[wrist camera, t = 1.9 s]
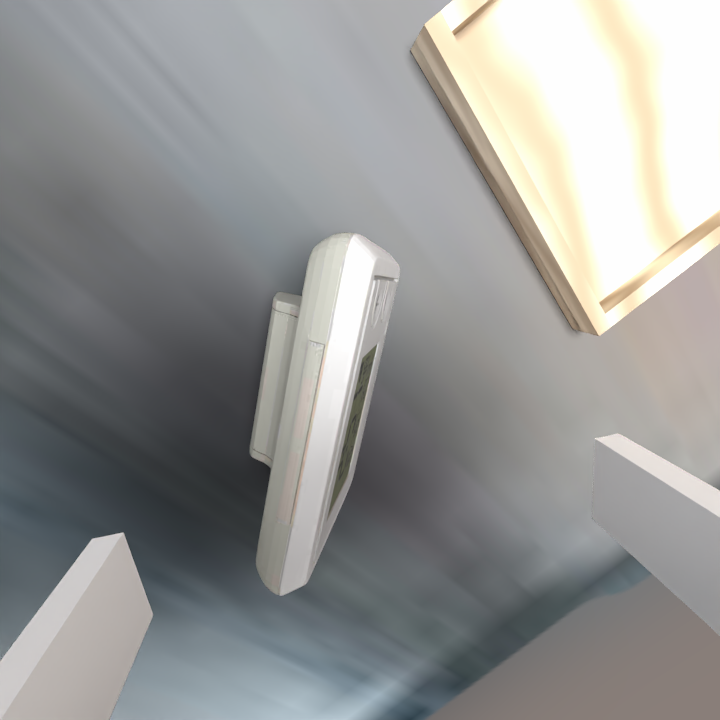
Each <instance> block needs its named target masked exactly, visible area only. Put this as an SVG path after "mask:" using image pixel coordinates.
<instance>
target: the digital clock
mask: <svg viewBox="0 0 720 720" xmlns="http://www.w3.org/2000/svg"><path fill="white" fill-rule="evenodd" d="M399 275H400V266H399V265H398V263H397V262H396V261H395V260H394V258H393V257H392V256H391V255H390V254H389V253H388V252H387V251H385V250H384V249H382V248H381V247H379V246H378V245H376V244H374V243H373V242H371V241H370V240H368V239H367V238H365V237H364V236H362V235H359V234H354V233H338V234H334V235H332V236H330V237H328V238H326V239H324V240H323V241H321V242H320V243H318V244H317V245H316V246H315V247H314V249H313V250H312V252H311V254H310V257H309V261H308V265H307V270H306V276H305V281H304V287H303V292H302V296H300V295H295V294H290V293H284V292H277V293H276V295H275V297H274V298H273V304H272V311H271V317H270V324H269V330H268V336H267V342H266V349H265V355H264V361H263V368H262V374H261V380H260V386H259V393H258V399H257V405H256V412H255V418H254V424H253V430H252V437H251V442H250V454H251V456H252V457H253V458H255V459H257V460H259V461H261V462H264V463H265V464H267V465H268V466H269V467H270V468H271V473H270V479H269V484H268V490H267V496H266V501H265V507H264V513H263V519H262V524H261V530H260V536H259V542H258V549H257V555H256V567H257V570H258V572H259V575H260V577H261V579H262V581H263V582H264V584H265V586H266V587H267V588H268V589H269V590H271V591H272V592H273V593H275V594H277V595H280V596H283V595H285V594H287V593H289V592H291V591H294V590H296V589H298V588H300V587H302V586H304V585H305V584H306V583H307V582H308V580H309V578H310V576H311V574H312V572H313V569H314V567H315V565H316V563H317V560H318V558H319V556H320V554H321V551H322V549H323V547H324V544H325V542H326V540H327V538H328V535H329V533H330V531H331V529H332V526H333V524H334V522H335V519H336V517H337V515H338V513H339V510H340V508H341V506H342V504H343V501H344V499H345V497H346V494H347V492H348V490H349V487H350V485H351V482H352V479H353V476H354V471H355V467H356V463H357V458H358V454H359V450H360V445H361V441H362V437H363V432H364V428H365V424H366V419H367V415H368V411H369V406H370V402H371V398H372V393H373V389H374V385H375V380H376V376H377V372H378V367H379V363H380V359H381V354H382V350H383V346H384V341H385V337H386V333H387V328H388V324H389V320H390V315H391V311H392V307H393V302H394V298H395V293H396V289H397V285H398V280H399Z"/></svg>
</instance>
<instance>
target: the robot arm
mask: <svg viewBox="0 0 720 720" xmlns="http://www.w3.org/2000/svg"><path fill="white" fill-rule="evenodd" d="M592 519H593V520H594V521H595V522H596V523H597V524H598V525H599V526H601V527H602V528H603V529H604V530H605V531H606V532H607V533H608V534H609V535H610V536H611V537H613V538H614V539H615V540H616V541H617V542H618V543H619V544H620V545H621V546H622V547H623V548H625V549H626V550H627V551H628V552H629V553H630V554H631V555H632V556H633V557H634V558H635V559H637V560H638V561H639V562H640V563H641V564H642V565H643V566H644V567H645V568H646V569H647V570H649V571H650V572H651V573H652V574H653V575H654V576H655V577H656V578H657V579H659V580H660V581H661V582H662V583H663V584H664V585H665V586H666V587H667V588H668V589H669V590H670V591H672V592H673V593H674V594H675V595H676V596H677V597H678V598H679V599H680V600H681V601H682V602H684V603H685V604H686V605H687V606H688V607H689V608H690V609H691V610H692V611H693V612H694V613H696V614H697V615H698V616H699V617H700V618H701V619H702V620H703V621H704V622H705V623H706V624H708V625H709V626H710V627H711V628H712V629H713V630H714V631H715V632H716V633H717V634H719V635H720V491H719V490H718V489H716V488H714V487H712V486H711V485H709V484H707V483H705V482H704V481H702V480H700V479H698V478H696V477H695V476H693V475H691V474H689V473H688V472H686V471H684V470H682V469H681V468H679V467H677V466H675V465H673V464H672V463H670V462H668V461H666V460H665V459H663V458H661V457H659V456H658V455H656V454H654V453H652V452H651V451H649V450H647V449H645V448H643V447H642V446H640V445H638V444H636V443H635V442H633V441H631V440H629V439H628V438H626V437H624V436H622V435H620V434H614V435H609V436H604V437H599V438H595V441H594V470H593V498H592ZM152 617H153V613H152V610H151V607H150V604H149V602H148V599H147V596H146V593H145V591H144V588H143V585H142V582H141V580H140V577H139V574H138V571H137V569H136V566H135V563H134V560H133V557H132V555H131V552H130V549H129V546H128V544H127V541H126V538H125V535H124V533H118V534H113V535H108V536H103V537H98V538H93V539H92V540H91V541H90V542H89V544H88V545H87V546H86V548H85V549H84V550H83V552H82V553H81V554H80V556H79V557H78V558H77V560H76V561H75V562H74V564H73V565H72V566H71V568H70V569H69V570H68V572H67V573H66V574H65V576H64V577H63V578H62V580H61V581H60V582H59V584H58V585H57V586H56V588H55V589H54V590H53V592H52V593H51V594H50V596H49V597H48V598H47V600H46V601H45V602H44V604H43V605H42V606H41V608H40V609H39V610H38V612H37V613H36V614H35V616H34V617H33V618H32V619H31V621H30V622H29V623H28V625H27V626H26V627H25V629H24V630H23V631H22V633H21V634H20V635H19V637H18V638H17V639H16V641H15V642H14V643H13V645H12V646H11V647H10V649H9V650H8V651H7V653H6V654H5V655H4V657H3V658H2V659H1V661H0V720H109V719H110V717H111V714H112V712H113V710H114V707H115V705H116V703H117V700H118V698H119V695H120V693H121V691H122V688H123V686H124V684H125V681H126V679H127V676H128V674H129V672H130V669H131V667H132V665H133V662H134V660H135V657H136V655H137V653H138V650H139V648H140V646H141V643H142V641H143V639H144V636H145V634H146V631H147V629H148V627H149V624H150V622H151V620H152Z"/></svg>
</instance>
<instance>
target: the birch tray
mask: <svg viewBox="0 0 720 720" xmlns="http://www.w3.org/2000/svg"><path fill="white" fill-rule="evenodd" d="M411 52H412V54H413V56H414V57H415V59H416V61H417V62H418V64H419V66H420V68H421V69H422V71H423V73H424V75H425V76H426V78H427V80H428V81H429V83H430V85H431V87H432V88H433V90H434V92H435V93H436V95H437V97H438V99H439V100H440V102H441V104H442V105H443V107H444V109H445V111H446V112H447V114H448V116H449V117H450V119H451V121H452V123H453V124H454V126H455V128H456V129H457V131H458V133H459V135H460V136H461V138H462V140H463V141H464V143H465V145H466V147H467V148H468V150H469V152H470V153H471V155H472V157H473V159H474V160H475V162H476V164H477V165H478V167H479V169H480V171H481V172H482V174H483V176H484V178H485V179H486V181H487V183H488V184H489V186H490V188H491V190H492V191H493V193H494V195H495V196H496V198H497V200H498V202H499V203H500V205H501V207H502V208H503V210H504V212H505V214H506V215H507V217H508V219H509V220H510V222H511V224H512V226H513V227H514V229H515V231H516V232H517V234H518V236H519V238H520V239H521V241H522V243H523V244H524V246H525V248H526V250H527V251H528V253H529V255H530V256H531V258H532V260H533V262H534V263H535V265H536V267H537V268H538V270H539V272H540V274H541V275H542V277H543V279H544V280H545V282H546V284H547V286H548V287H549V289H550V291H551V293H552V294H553V296H554V298H555V299H556V301H557V303H558V305H559V306H560V308H561V310H562V311H563V313H564V315H565V317H566V318H567V320H568V322H569V323H570V325H571V327H572V329H575V330H579V331H582V332H586V333H590V334H593V335H597V336H600V335H601V334H602V333H604V332H605V331H606V330H608V329H609V328H610V327H611V326H613V325H614V324H615V323H617V322H618V321H619V320H621V319H622V318H623V317H624V316H626V315H627V314H628V313H630V312H631V311H632V310H634V309H635V308H636V307H637V306H639V305H640V304H641V303H643V302H644V301H645V300H647V299H648V298H649V297H650V296H652V295H653V294H654V293H656V292H657V291H658V290H660V289H661V288H662V287H663V286H665V285H666V284H667V283H669V282H670V281H671V280H673V279H674V278H675V277H676V276H678V275H679V274H680V273H682V272H683V271H684V270H686V269H687V268H688V267H689V266H691V265H692V264H693V263H695V262H696V261H697V260H699V259H700V258H701V257H702V256H704V255H705V254H706V253H708V252H709V251H710V250H712V249H713V248H714V247H715V246H717V245H718V244H719V243H720V0H453V1H452V2H451V3H449V4H448V5H447V6H446V7H445V8H443V9H442V10H441V11H440V12H439V13H437V14H436V15H435V16H434V17H433V18H431V19H430V20H429V21H428V22H427V23H426V24H424V26H423V28H422V30H421V32H420V33H419V35H418V37H417V39H416V41H415V43H414V45H413V46H412V48H411Z"/></svg>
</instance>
